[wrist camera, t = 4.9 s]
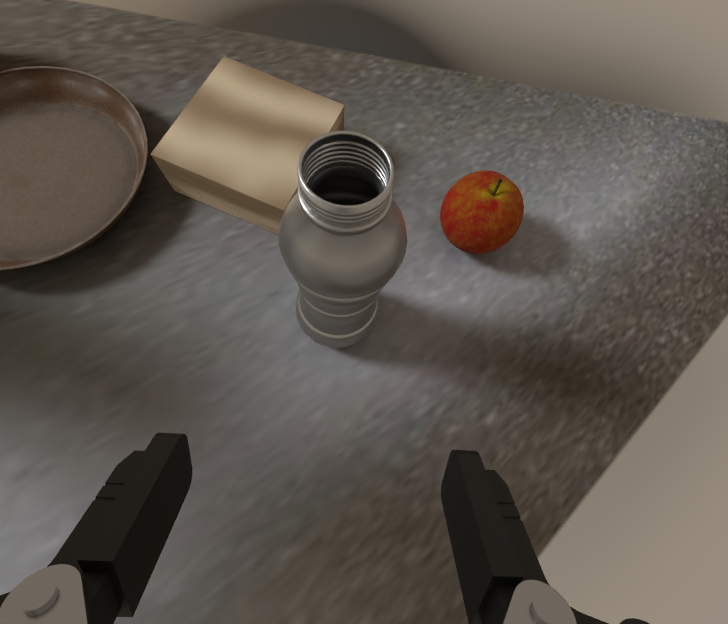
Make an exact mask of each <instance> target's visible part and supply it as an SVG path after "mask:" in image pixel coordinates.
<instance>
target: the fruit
mask: <svg viewBox="0 0 728 624" xmlns="http://www.w3.org/2000/svg"><path fill="white" fill-rule="evenodd" d="M523 210H524V205H523V198H522V195H521V192H520V191H519V189H518V188H517V186H516V185H515V184H514V183H513V182H512V181H511V180H510V179H508V178H507V177H505V176H504V175H502V174H500V173H497V172H494V171H478V172H474V173H471V174H469V175H466V176H464V177H463V178H461V179H460V180H458V181H457V182H456V183H455V184H454V185H453V186H452V187H451V188H450V190H449V191H448V193H447V194H446V196H445V198H444V200H443V203H442V207H441V213H440V220H441V226H442V229H443V231H444V234H445V235H446V237H447V239H448V240H449V241H450V242H451V243H452V244H453V245H454V246H455V247H457V248H458V249H460V250H463V251H466V252H469V253H475V254H482V253H488V252H492V251H494V250H497V249H499V248H500V247H502V246H503V245H505V244H506V243H507V242H508V241H509V240H510V239H511V238H512V237H513V236H514V235H515V233H516V232H517V230H518V228H519V226H520V224H521V221H522V217H523Z"/></svg>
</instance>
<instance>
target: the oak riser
mask: <svg viewBox="0 0 728 624" xmlns="http://www.w3.org/2000/svg"><path fill="white" fill-rule="evenodd" d="M343 127H344V105H343V104H340V103H338V102H335V101H333V100H330V99H328V98H326V97H323V96H321V95H318V94H316V93H313V92H311V91H308V90H306V89H303V88H301V87H298V86H296V85H293V84H291V83H289V82H286V81H284V80H281V79H279V78H276V77H274V76H271V75H269V74H266V73H264V72H261V71H259V70H257V69H254V68H252V67H249V66H247V65H244V64H242V63H239V62H237V61H234V60H232V59H229V58H227V57H225V56H224V57H223V58H222V60H221V61H220V62H219V64H218V65H217V66H216V68H215V69H214V70H213V72H212V73H211V74H210V75H209V77H208V78H207V79H206V81H205V82H204V83H203V85H202V86H201V87H200V89H199V90H198V91H197V93H196V94H195V95H194V97H193V98H192V99H191V101H190V102H189V103H188V105H187V106H186V107H185V109H184V110H183V111H182V113H181V114H180V115H179V117H178V118H177V119H176V121H175V122H174V123H173V125H172V126H171V127H170V129H169V130H168V131H167V133H166V134H165V135H164V137H163V138H162V139H161V141H160V142H159V143H158V145H157V146H156V147H155V149H154V150H153V151H152V153H151V156H152V157H153V159H154V160H155V162H156V163H157V165H158V167H159V168H160V170H161V171H162V173H163V174H164V176H165V177H166V179H167V180H168V182H169V183H170V185H171V186H172V188H173V189H174V191H176V192H178V193H181V194H183V195H185V196H188V197H190V198H192V199H195V200H197V201H200V202H202V203H204V204H207V205H209V206H211V207H214V208H216V209H218V210H221V211H223V212H225V213H228V214H230V215H232V216H235V217H237V218H239V219H242V220H244V221H247V222H249V223H251V224H254V225H256V226H258V227H261V228H263V229H265V230H268V231H270V232H272V233H275V234H277V235H279V227H280V223H281V220H282V217H283V214H284V212H285V210H286V207H287V205H288V203H289V202H290V201H291V200H292V198H293V197H294V196H295V195H296V194H297V193H298V176H297V166H298V160H299V156H300V154H301V152H302V150H303V149H304V148H305V146H306V145H307V144H308V143H309V142H310V141H312V140H313V139H314V138H316V137H318V136H320V135H322V134H325V133H328V132H332V131H340V130H341V131H343Z"/></svg>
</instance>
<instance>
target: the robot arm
mask: <svg viewBox="0 0 728 624" xmlns="http://www.w3.org/2000/svg"><path fill="white" fill-rule="evenodd" d="M191 479H192V464H191V458H190V451H189V445H188V439H187V436H186V434H176V433H157V434H156V435H155V436H154V437H153V439H152V440H151V442H150V444H149V445H148V447H147V449H146V450H145V451H134V452H132V453H131V454H130V455H129V456H128V457H126V458H125V459H124V460H123V461H122V462H120V463H119V464H118V465H117V466H116V468H115V469H114V471H113V472H112V474H111V475H110V477H109V478H108V480H107V481H106V484H105V486H103V487H102V488H101V490H100V491H99V493H98V494H97V496H96V499H95V501H93V502H92V503H91V505H90V506H89V508H88V509H87V511H86V512H85V514H84V515H83V517H82V518H81V520H80V521H79V523H78V524H77V525H76V527H75V528H74V530H73V531H72V533H71V534H70V536H69V537H68V539H67V540H66V542H65V543H64V545H63V546H62V548H61V549H60V551H59V552H58V554H57V555H56V557H55V558H54V559H53V560H52V562H51V563H50V564H49V565H48V566H47V567H46V568H43V569H41V570H39V571H37V572H35V573H33V574H32V575H30V576H29V577H27V578H26V579H24V580H23V581H22V582H21V583H19V584H18V585H17V586H16V587H15V588H14V589H13V590H12V591H11V592H9V593H6V594H3V595H0V624H114V621H115V619H116V617H133V615H134V613H135V611H136V608H137V606H138V604H139V602H140V599H141V597H142V595H143V592H144V590H145V588H146V586H147V583H148V581H149V579H150V577H151V574H152V572H153V570H154V568H155V565H156V563H157V561H158V558H159V556H160V554H161V552H162V549H163V547H164V545H165V543H166V540H167V538H168V536H169V534H170V531H171V529H172V527H173V524H174V522H175V520H176V518H177V515H178V513H179V511H180V509H181V506H182V504H183V502H184V500H185V497H186V495H187V493H188V490H189V487H190V484H191ZM441 498H442V505H443V509H444V514H445V518H446V523H447V527H448V532H449V536H450V541H451V545H452V550H453V554H454V559H455V563H456V568H457V572H458V577H459V581H460V586H461V590H462V595H463V599H464V604H465V608H466V613H467V617H468V622H469V624H608V623H606V622H603V621H600V620H598V619H595V618H593V617H590V616H588V615H585V614H583V613H581V612H578V611H576V610H575V609H573V608H572V607H570V606H569V605H568V603H567V602H566V600H565V599H564V598H563V597H562V596H561V595H560V594H559V593H558V592H557V591H556V590H555V589H553V588H552V587H551V586H550V585H549V584H548V582H547V580H546V578H545V576H544V574H543V571H542V569H541V566H540V564H539V562H538V559H537V557H536V554H535V552H534V549H533V547H532V544H531V542H530V539H529V537H528V535H527V532H526V530H525V527H524V525H523V522H522V521H521V520H520V515H519V512H518V510H517V508H516V506H515V505H514V500H513V498H512V495H511V493H510V490H509V488H508V486H507V484H506V483H505V482H504V481H503V480H502V478H501V477H500V476H499V475H498V474H497V472H496V471H495V470H485V468H484V466H483V463H482V460H481V457H480V455H479V453H478V452H477V451H466V450H452V451H451V453H450V456H449V460H448V463H447V467H446V470H445V474H444V477H443V481H442V486H441ZM620 624H649V623H647V622H645V621H642V620H639V619H626V620H624V621H622V622H621V623H620Z"/></svg>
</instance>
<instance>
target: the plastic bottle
mask: <svg viewBox="0 0 728 624" xmlns="http://www.w3.org/2000/svg"><path fill="white" fill-rule="evenodd" d="M297 176H298V193H297V194H296V195H295V196H294V197H293V198H292V200H291V201H290V202H289V203H288V205H287V207H286V210H285V212H284V214H283V217H282V220H281V223H280V227H279V246H280V251H281V254H282V256H283V259H284V261H285V263H286V265H287V267H288V269H289V271H290V272H291V274H292V275H293V277H294V279H295V280H296V282H297V283H298V286H299V293H298V297H297V302H296V315H297V319H298V322H299V324H300V326H301V328H302V329H303V331H304V332H305V333H306V334H307V335H308V336H309V337H310V338H311V339H313V340H314V341H316V342H318V343H319V344H321V345H324V346H327V347H334V348H340V347H346V346H350V345H353V344H355V343H357V342H359V341H360V340H362V339H363V338H365V337H366V336H367V335H368V334H369V333H370V332H371V330H372V329H373V327H374V326H375V323H376V320H377V317H378V294H379V292H380V290H381V289H382V288H383V287H384V286H385V285H386V284H387V283H388V281H389V280H390V279H391V278H392V277H393V276H394V274H395V273H396V271H397V269H398V268H399V266H400V265H401V263H402V261H403V258H404V256H405V253H406V247H407V234H406V227H405V221H404V218H403V215H402V213H401V211H400V209H399V207H398V206H397V204H396V202H395V201H394V200H393V199H392V195H393V191H392V187H393V182H394V166H393V162H392V159H391V157H390V155H389V154H388V152H387V150H386V149H385V148H384V147H383V146H382V145H381V144H380V143H378V142H377V141H376V140H375V139H373V138H371V137H369V136H367V135H365V134H362V133H359V132H354V131H341V130H340V131H332V132H328V133H325V134H322V135H320V136H318V137H316V138H314V139H313V140H312V141H310V142H309V143H308V144H307V145H306V146H305V148H304V149H303V150H302V152H301V154H300V156H299V160H298V166H297Z"/></svg>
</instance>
